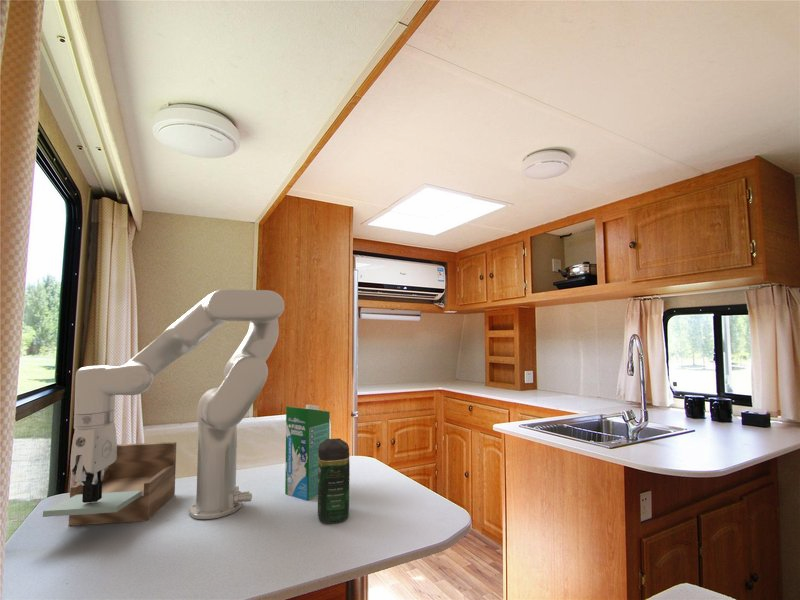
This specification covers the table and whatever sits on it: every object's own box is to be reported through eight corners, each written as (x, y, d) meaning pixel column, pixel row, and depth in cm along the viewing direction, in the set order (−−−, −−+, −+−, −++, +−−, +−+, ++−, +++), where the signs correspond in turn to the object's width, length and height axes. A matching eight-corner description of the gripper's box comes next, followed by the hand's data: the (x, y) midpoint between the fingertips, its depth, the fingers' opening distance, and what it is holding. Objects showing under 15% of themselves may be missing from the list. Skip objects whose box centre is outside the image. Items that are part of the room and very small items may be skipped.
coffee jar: (351, 522, 98) (351, 444, 100) (318, 526, 96) (318, 447, 98) (347, 506, 107) (347, 435, 109) (317, 509, 106) (317, 437, 107)
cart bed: (174, 495, 116) (176, 441, 118) (147, 520, 101) (150, 458, 102) (106, 499, 114) (109, 444, 115) (68, 525, 98) (71, 462, 99)
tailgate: (141, 490, 101) (116, 506, 90) (141, 498, 101) (116, 514, 90) (76, 494, 99) (43, 511, 88) (76, 502, 99) (42, 519, 88)
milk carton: (329, 489, 119) (330, 403, 121) (307, 500, 111) (308, 408, 113) (307, 484, 124) (308, 401, 126) (284, 494, 116) (285, 405, 118)
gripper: (92, 425, 87) (89, 514, 86) (129, 412, 102) (127, 487, 100) (53, 427, 86) (50, 517, 85) (96, 413, 101) (94, 489, 99)
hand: (92, 500), depth 92 cm, fingers closed
